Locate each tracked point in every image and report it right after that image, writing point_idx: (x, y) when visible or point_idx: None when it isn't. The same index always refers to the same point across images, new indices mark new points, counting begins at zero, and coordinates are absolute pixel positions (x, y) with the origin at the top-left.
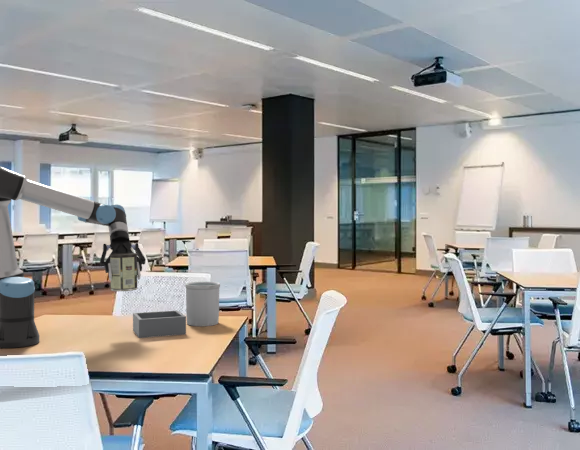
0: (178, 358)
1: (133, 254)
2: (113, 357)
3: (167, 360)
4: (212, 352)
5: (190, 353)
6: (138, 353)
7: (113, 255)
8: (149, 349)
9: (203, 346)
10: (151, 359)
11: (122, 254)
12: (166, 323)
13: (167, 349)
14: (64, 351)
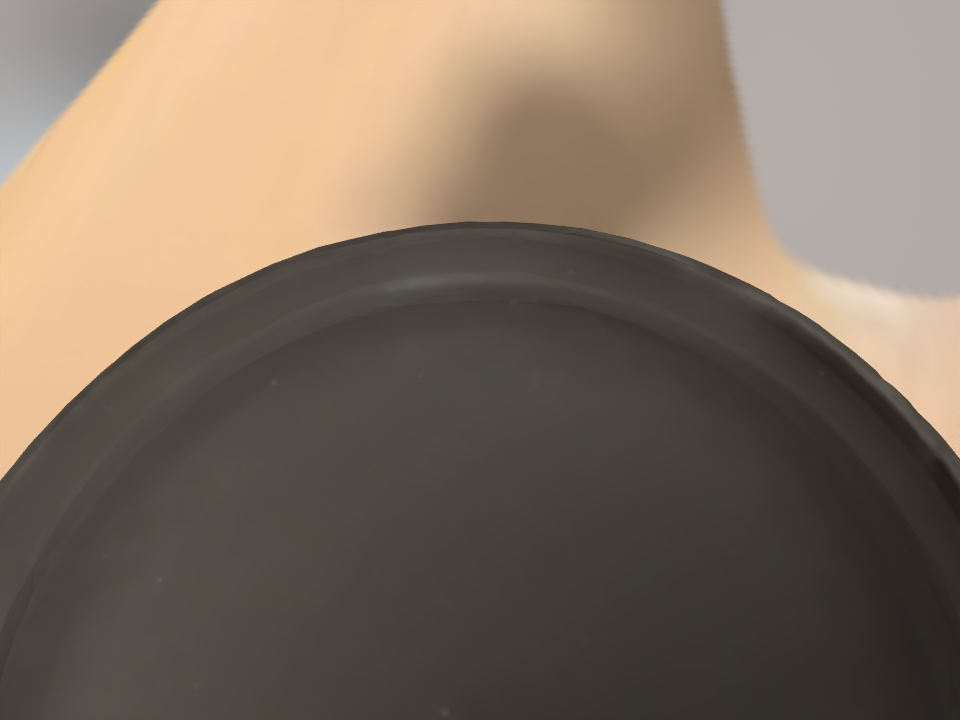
0: (321, 25)
1: (168, 320)
2: (626, 111)
3: (378, 8)
4: (130, 79)
5: (236, 88)
6: (489, 151)
7: (863, 372)
8: (416, 216)
9: (111, 199)
10: (445, 38)
11: (524, 582)
12: None
13: (320, 190)
14: (937, 309)
